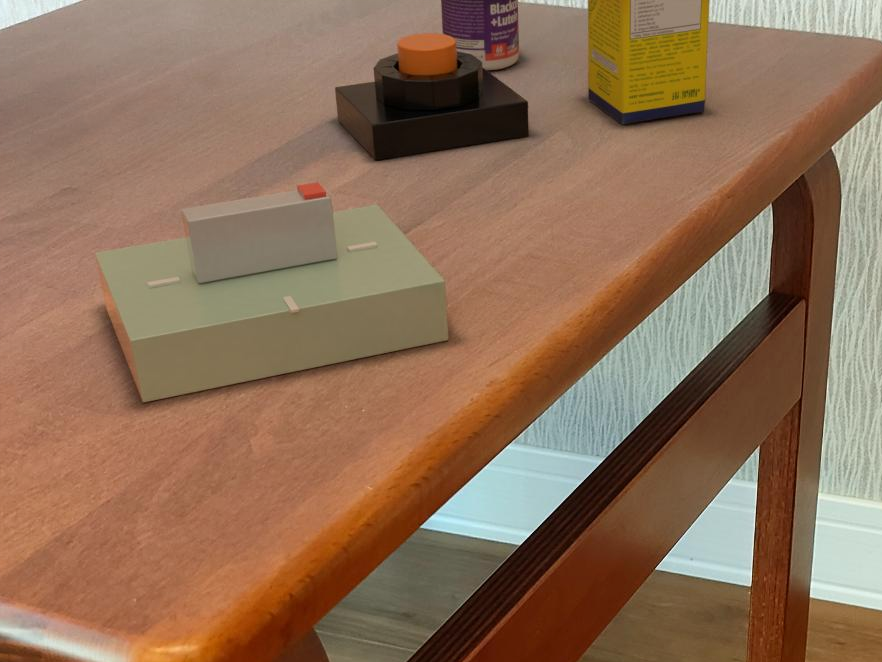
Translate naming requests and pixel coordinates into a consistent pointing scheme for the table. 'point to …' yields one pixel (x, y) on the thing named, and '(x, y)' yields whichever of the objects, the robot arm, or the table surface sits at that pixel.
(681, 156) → the table surface
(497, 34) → the pill bottle
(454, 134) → the button block
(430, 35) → the button
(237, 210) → the red-button grey box
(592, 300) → the table surface
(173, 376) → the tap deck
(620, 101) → the supplement box
